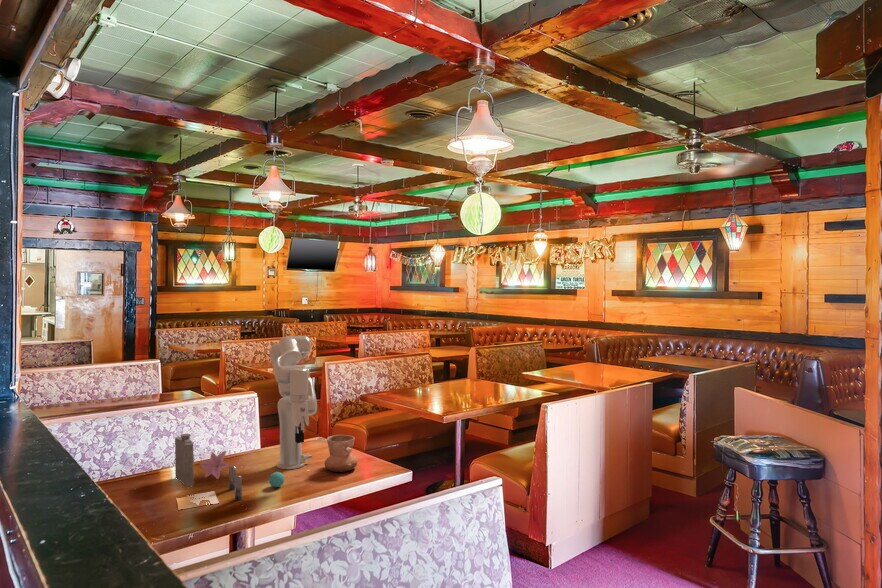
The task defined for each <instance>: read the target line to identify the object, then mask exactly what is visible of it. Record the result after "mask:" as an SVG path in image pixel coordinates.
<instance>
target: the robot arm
mask: <svg viewBox="0 0 882 588" xmlns="http://www.w3.org/2000/svg"><path fill="white" fill-rule="evenodd" d="M311 348H312V343H311V340H310V337H308V336H307V335H287V336H283V337H282V338H280V340H279V341H278V342H277V343H273V344H272V345H271V346H270V348H269V357H270V358H269V359H270V362H271V365H272V367H273V372H274V373H273V374H274V378H275V381H276V382H277V386H278V392H279V395H280V396H281V398H279V400H278V401H277V411H278V418H279V461H278V462H276V467H277V468H278V469H281V470H295V469H298V468H299V469H300V468H302V467H304V466H305V465H306V460H312V459H313V454H308V453H306V454H304V453H302V452H303V450H302V447H303V446H302V443H304V442H305V426H306V427H309V425H310V420H309V418H310V417H309V416H312V415H315V414H317V411H318V401H317V395H316V390H315V384H314V380H313V379H312V377H311V372H310V368H309V367H308V366H307V365H305V364H299V363H300V361H301V360H305V359H306V358H307V357H308V355H309V354H310V352H311Z"/></svg>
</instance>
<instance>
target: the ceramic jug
mask: <svg viewBox="0 0 882 588" xmlns="http://www.w3.org/2000/svg"><path fill="white" fill-rule="evenodd" d="M326 441H327V445H328V451H329V456H328V457H327V458H326V459H325V461H324V467H325V468H326V469H327V470H329V471H330V472H334V473H346V472H348V471H351V470H353V469H354V468H357V465H358V460H357V458H356V457H355V455H352V454H351V453H352V450H353V447H354V444H355V441H356V439H355V436H353V435H349V434H348V435H347V434H334V435H331V436H328V437H327V439H326Z"/></svg>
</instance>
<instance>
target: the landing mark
mask: <svg viewBox="0 0 882 588" xmlns="http://www.w3.org/2000/svg"><path fill="white" fill-rule="evenodd" d="M189 495H190V496H189ZM189 495H187V496H188V497H194V499H193V498H192V499H193V500H192V499H191V500H190V499H189V500H190V502H193V503H196V504H197V505H199V503H200V501H202V500H209V501H210V503H211V504H213V505H217V504H218V503H220V502H219V499H218V497H217V495H216V492H215V490H213V491H212V490H211V491H207V492H202V493H201V492H200V493H195V494H189ZM191 495H192V496H191ZM193 495H194V496H193ZM202 497H203V498H202ZM204 497H205V498H204ZM195 498H196V499H195ZM199 498H200V499H199ZM208 503H209V502H208ZM210 503H209V505H207V502H206V505H207V506H211V505H210ZM218 505H219V504H218Z"/></svg>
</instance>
